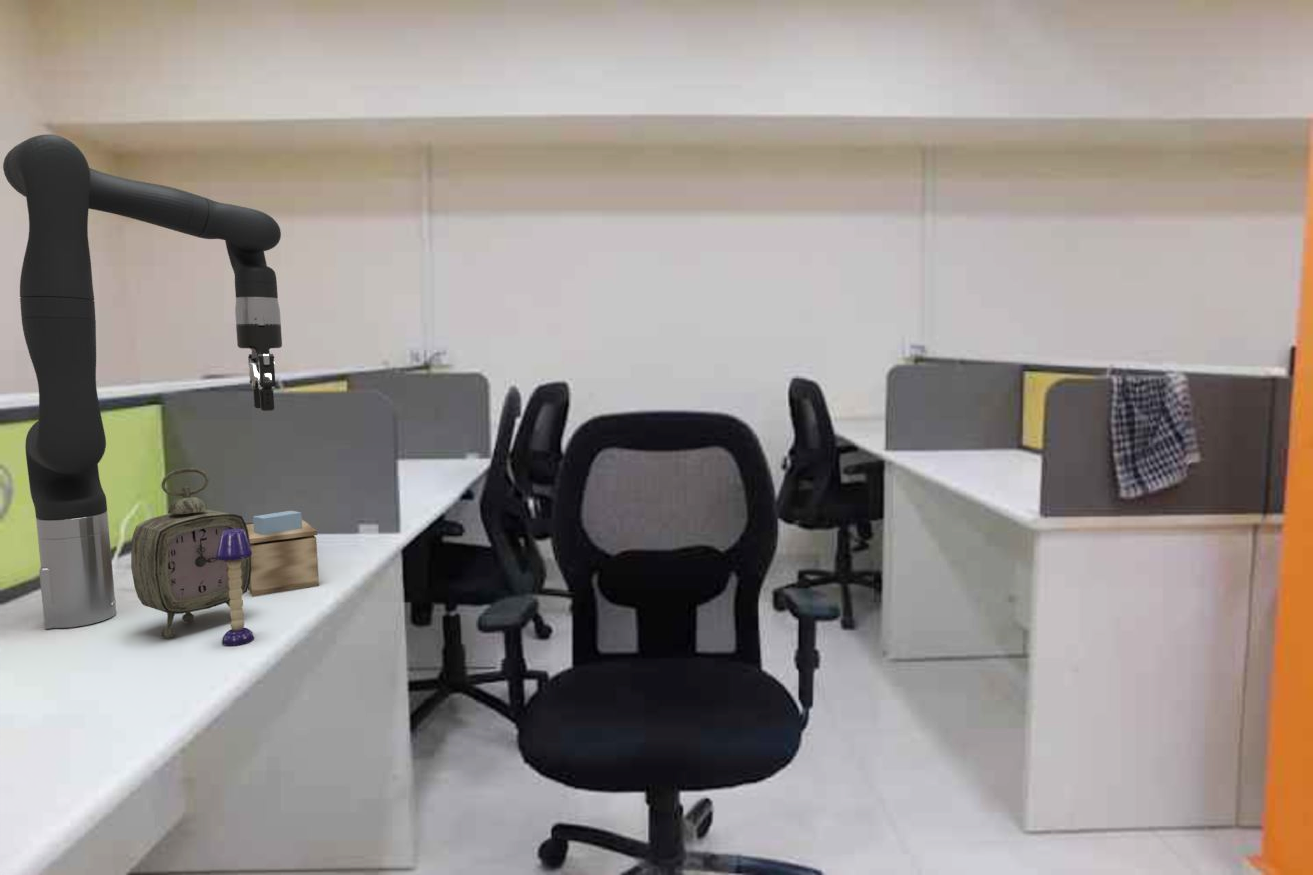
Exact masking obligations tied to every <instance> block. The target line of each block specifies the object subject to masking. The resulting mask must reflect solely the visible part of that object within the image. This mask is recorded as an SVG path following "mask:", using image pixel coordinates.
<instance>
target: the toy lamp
mask: <svg viewBox="0 0 1313 875" xmlns="http://www.w3.org/2000/svg"><path fill="white" fill-rule="evenodd" d="M251 555H252V551H251V548H250V545H249V542H248V539H247V536H246V533H245V531H244V530H243V529H230V530H225V531H223V532H222V534H221V537H220V541H219V546H218V550H217V555H216V558H217V559H218V560H224V561H225V560H226V561H227V560H228V561H227V565H228V568H229V570H228V577H229V578H230V579H229V581H228V585H229V588H230V590H229V597H230V599H231V600H230V603H229V605H230V607H229V608H230V611H229V616H230V619H231V620H230V627H231V629H229V630H228V631H226V632H225V633H224V634H223V637H222V640H221V644H222V645H223V646H228V645H232V646H238V644H240V645H244V644H247V643H250V642H253V640H255V636H254V633H253V631H252V630H251V629H250V628H248V627H244V626H245V621H244V615H245V614H244V609H243V607H244V600H243V598H242V597H243V595H242V593H243V592H242V589H241V586H242V580H241V578H240V577H241V569H240V565H241V559H244V558H248V557H250V556H251ZM249 641H250V642H249ZM243 643H244V644H243Z"/></svg>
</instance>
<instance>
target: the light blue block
mask: <svg viewBox="0 0 1313 875" xmlns="http://www.w3.org/2000/svg"><path fill="white" fill-rule="evenodd" d="M302 517H303V516H302V512H299V511H295V510H287V511H280V512H274V513H268V514H261V515H254V516H252V523H253V525H254V533H257V534H261V535H268V534H274V533H280V532H285V531H291V530H297V529H302V520H303V518H302Z"/></svg>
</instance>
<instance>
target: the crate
mask: <svg viewBox="0 0 1313 875" xmlns="http://www.w3.org/2000/svg"><path fill="white" fill-rule="evenodd" d="M317 543H318V542H317V537H316V535H313V536H305V537H298V538H290V539H282V540H274V541H266V542H259V543H251V544H250V547H251V551H252V555H251V578H250V584H249V587H248V591H249V593H250V594H251V596H252V597H258V596H264V595H270V594H277V593H278V594H279V593H283V592H288V591H295V590H301V589H302V590H303V589H307V588H308V589H309V588H314V587H319V586H320V581H319V580H320V579H319V565H318V564H319V563H318V559H319V558H318V548H317V546H318V544H317Z"/></svg>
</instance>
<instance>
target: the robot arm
mask: <svg viewBox="0 0 1313 875" xmlns="http://www.w3.org/2000/svg"><path fill="white" fill-rule="evenodd" d="M2 168H3V173H4V177H5V179H6V180H7V182H8V183H9V185H10V186H11V187H12V188H13V189H14V190H15V191H16V192H18V193H19V194H20V195H22V196H23V197H24V198H26V206H27V212H28V224H29V225H28V237H27V243H26V247H25V252H24V256H23V261H22V266H21V272H20V279H19V297H20V298H19V300H20V301H19V302H20V314H21V325H22V331H23V336H24V340H25V343H26V346H27V351H28V355H29V357H30V360H31V363H32V365H33V366H32V367H33V369H34V373H35V376H36V381H37V387H38V420H37V421H36V422H34V423H33V424H32V425H31V427H30V428H29V430H28V432H27V434H26V437H25V444H24V446H25V456H26V457H25V459H26V467H27V474H28V483H29V491H30V497H31V499H32V503H33V506H34V511H35V522H36V523H35V524H36V531H37V532H36V533H37V542H38V553H39V561H40V562H39V564H40V567H39V570H38V571H39V572H38V573H39V583H40V591H41V602H42V612H43V613H42V614H43V622H44V623H43V624H44V629H45V630H49V629H61V628H62V629H65V628H74V627H75V628H76V627H82V626H83V627H84V626H88V625H92V624H95V623H99V622H102V621H105V620H108V619H111V618H112V617H114V616H115V615H116V614H117V609H116V608H117V607H116V605H117V604H116V602H117V601H116V596H115V585H114V572H113V561H112V560H113V559H112V549H111V540H110V529H109V528H110V526H109V525H110V524H109V516H108V504H107V503H108V502H107V497H106V496H107V495H106V494H105V492H104V491H105V490H104V489H103V487H102V483H101V480H100V474H99V473H100V472H99V463H100V462H101V461H102V459H103V456H104V454H105V452H106V447H107V440H106V438H107V437H106V433H105V429H104V428H105V427H104V424H103V419H102V414H101V407H100V403H99V402H100V401H99V397H98V390H97V329H96V328H97V325H96V323H97V321H96V320H97V319H96V307H95V302H96V301H95V293H94V285H93V272H92V271H93V270H92V261H91V251H90V247H89V246H90V245H89V244H90V243H89V236H88V235H89V230H88V225H89V224H88V221H89V210H94V211H99V212H104V213H109V214H113V215H116V216H117V215H118V216H121V217H126V218H130V219H132V220H136V221H140V222H143V223H148V224H151V225H154V226H157V227H161V228H165V229H168V230H171V231H173V232H178V233H182V234H185V235H189V236H193V237H196V238H200V239H205V240H222V241H224V242H225V247H226V250H227V251H226V252H227V255H228V258H229V261H230V266H231V268H232V270H233V273H234V290H235V292H234V293H235V308H234V311H235V312H234V314H235V326H236V327H235V330H236V342H237V347H238V348H239V349H249V350H251V354H248V357H247V358H248V359H247V360H248V361H247V364H248V371H249V372H248V373H249V374H248V376H249V383H250V387H251V389H252V391H253V392H252V393H253V394H252V395H253V406H254V408H255V409H260V410H261V411H263V412H265V411H266V412H269V411H274V410H275V398H274V390H275V388H276V385H277V382H276V373H275V372H276V370H275V360H274V359H275V356H274V353H271V352H270V349H281V348H282V347H283V340H282V339H283V338H282V335H283V334H282V321H281V320H282V319H281V311H280V310H281V309H280V305H279V298H278V297H279V296H278V284H277V275H276V271H274V269H273V268H271V267H270V266H268V264H267V260H266V259H267V258H266V256H265V252H267V251H269V250H272V249H274V248H276V246H277V245H279V243H280V240H281V237H282V230H281V228H280V226H279V224H278V222H277V221H276V220H275V219H274V218H273V217H272V216H270V215H269V214H267V213H265V212H264V211H261V210H257V209H253V208H249V207H245V206H240V205H236V204H231V203H224V202H218V201H215V200H212V199H210V198H208V197H204V196H201V195H199V194H198V195H197V194H195V193H193V192H190V191H185V190H182V189H179V188H176V187H171V186H168V185H167V186H166V185H162V184H159V183H151V182H145V181H139V180H133V179H128V178H124V177H121V176H116V175H113V174H108V173H105V172H103V171H99V170H97V169H93V168H92V167H91V168H90V166H89V163H88V160H87V158H86V157H85V155H84V153H83V152H82V150H80V148H79V147H78V146H76V144H74V143H73V142H72V141H70V140H69V139H67V138H65V137H63V136H60V135H56V134H47V133H46V134H40V135H39V134H38V135H36V136H32V137H29V138H27V139H26V140H24V141H22V142H20V143H18V144H16V145H15V146H14V147H13V148H12V149H10V150H9V151H8V152H7V154H6V156H4V160H3V163H2Z"/></svg>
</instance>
